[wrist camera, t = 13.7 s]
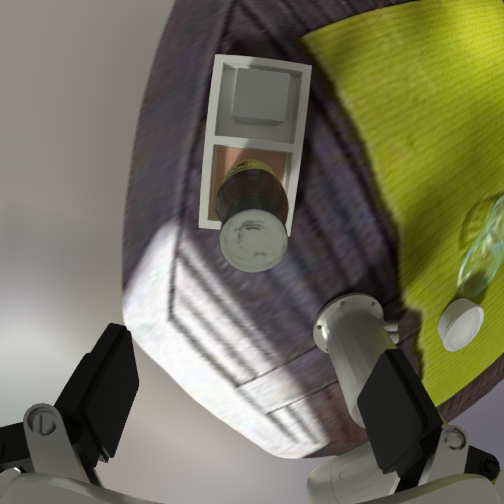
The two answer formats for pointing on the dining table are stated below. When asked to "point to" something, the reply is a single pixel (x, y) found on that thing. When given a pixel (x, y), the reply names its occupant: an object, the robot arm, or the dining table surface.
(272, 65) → the divided bay tray
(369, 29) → the dining table surface
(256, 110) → the grey metal block
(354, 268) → the dining table surface
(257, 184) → the sauce bottle
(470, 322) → the ramekin
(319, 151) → the dining table surface
